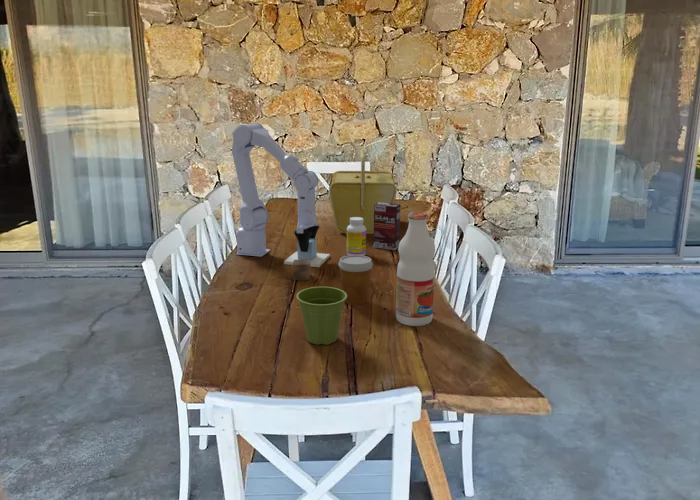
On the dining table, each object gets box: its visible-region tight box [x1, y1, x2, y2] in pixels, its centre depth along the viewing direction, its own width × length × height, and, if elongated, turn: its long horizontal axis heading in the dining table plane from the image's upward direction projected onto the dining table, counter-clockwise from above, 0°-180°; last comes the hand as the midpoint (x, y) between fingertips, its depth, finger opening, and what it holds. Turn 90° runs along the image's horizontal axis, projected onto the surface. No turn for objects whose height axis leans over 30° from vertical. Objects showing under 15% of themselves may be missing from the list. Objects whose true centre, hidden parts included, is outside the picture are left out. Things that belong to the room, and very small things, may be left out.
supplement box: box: [372, 202, 402, 251], centre depth 224 cm, size 9×5×16 cm, turn 68°
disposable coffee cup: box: [337, 255, 374, 306], centre depth 173 cm, size 10×10×12 cm
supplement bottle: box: [346, 217, 367, 256], centre depth 215 cm, size 7×7×13 cm
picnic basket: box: [328, 148, 398, 235], centre depth 252 cm, size 29×26×30 cm
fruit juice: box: [395, 211, 436, 327], centre depth 158 cm, size 9×9×28 cm
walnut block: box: [291, 260, 311, 281], centre depth 193 cm, size 5×5×5 cm
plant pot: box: [296, 286, 347, 346], centre depth 148 cm, size 12×12×11 cm
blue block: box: [296, 237, 318, 260], centre depth 209 cm, size 5×5×6 cm
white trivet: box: [283, 250, 331, 268], centre depth 210 cm, size 12×12×1 cm
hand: (307, 249), depth 209 cm, fingers open, 5 cm apart
